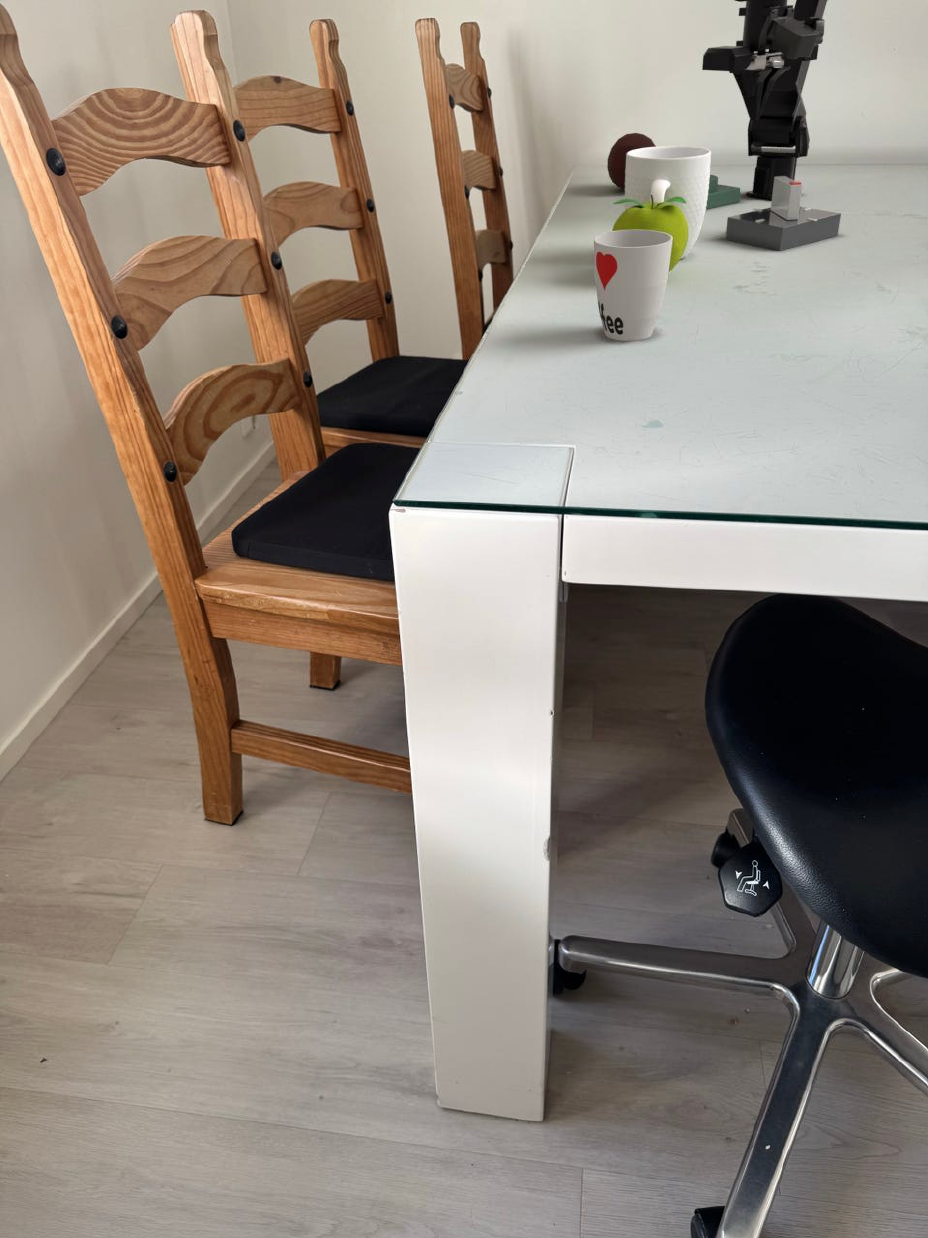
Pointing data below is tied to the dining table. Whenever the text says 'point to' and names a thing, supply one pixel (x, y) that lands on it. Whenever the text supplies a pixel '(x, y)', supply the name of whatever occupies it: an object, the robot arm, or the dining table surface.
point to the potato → (624, 155)
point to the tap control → (721, 194)
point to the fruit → (657, 222)
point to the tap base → (782, 228)
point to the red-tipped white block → (786, 197)
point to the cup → (631, 280)
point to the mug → (671, 181)
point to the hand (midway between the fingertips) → (754, 119)
